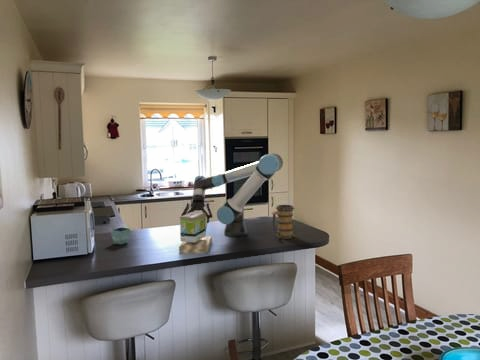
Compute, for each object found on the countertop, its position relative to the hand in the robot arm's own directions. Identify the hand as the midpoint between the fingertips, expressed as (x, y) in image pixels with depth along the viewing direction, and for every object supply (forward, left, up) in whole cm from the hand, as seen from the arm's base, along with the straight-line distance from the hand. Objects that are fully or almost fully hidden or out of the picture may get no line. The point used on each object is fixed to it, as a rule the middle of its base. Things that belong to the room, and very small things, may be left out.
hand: (195, 227), depth 221 cm
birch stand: (0, +1, -12) cm, 12 cm away
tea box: (+1, +3, -6) cm, 7 cm away
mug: (-53, -20, -12) cm, 58 cm away
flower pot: (+49, -10, -12) cm, 51 cm away
